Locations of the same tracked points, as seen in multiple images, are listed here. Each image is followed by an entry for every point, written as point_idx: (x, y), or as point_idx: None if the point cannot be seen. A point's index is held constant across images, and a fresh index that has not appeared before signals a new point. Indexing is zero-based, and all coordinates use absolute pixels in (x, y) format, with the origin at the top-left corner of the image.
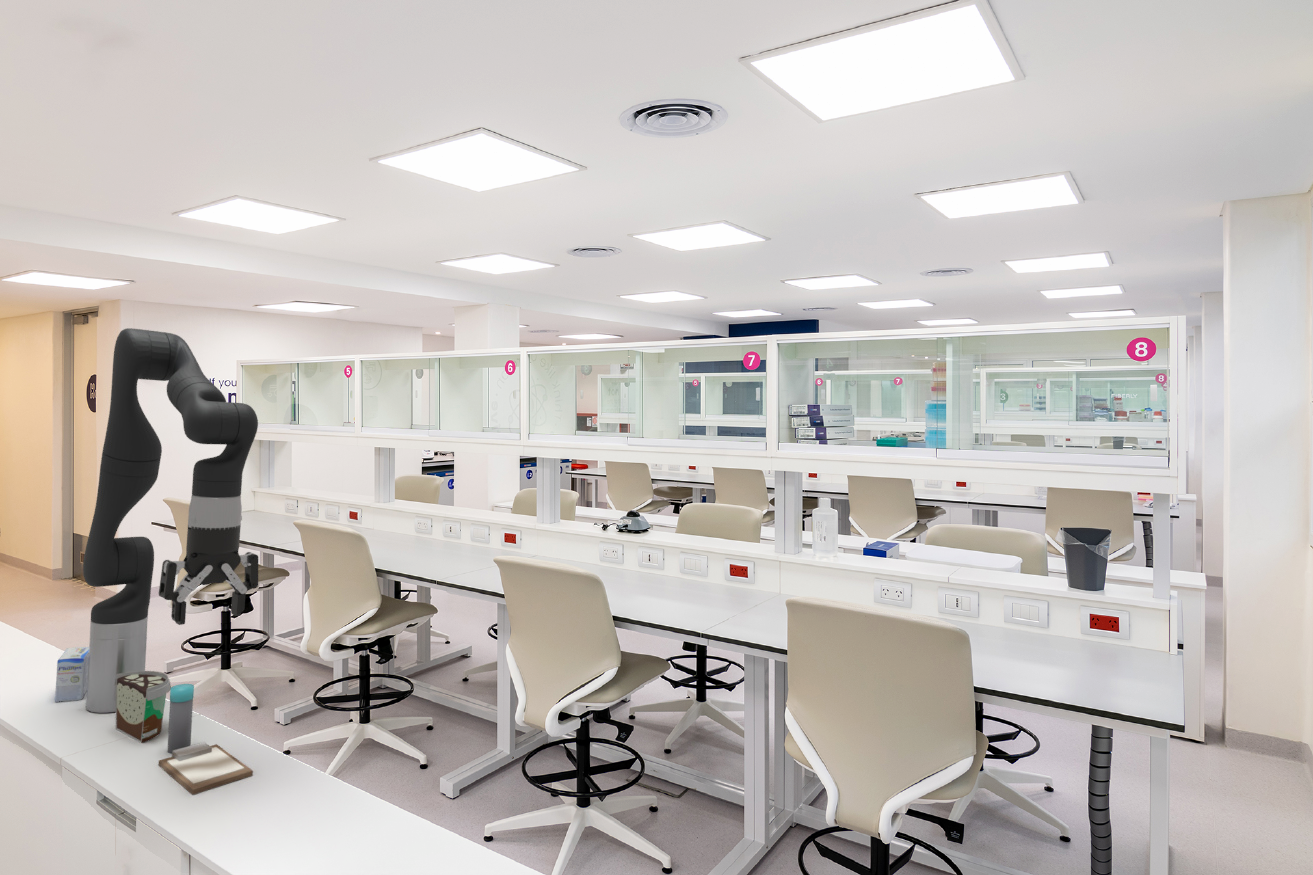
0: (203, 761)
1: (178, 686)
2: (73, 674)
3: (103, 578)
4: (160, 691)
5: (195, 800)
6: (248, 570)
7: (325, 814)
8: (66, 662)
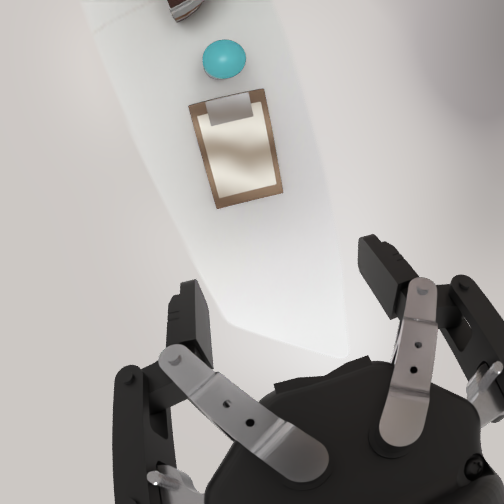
0: (238, 140)
1: (218, 50)
2: None
3: None
4: (195, 2)
5: (217, 220)
6: (472, 358)
7: (308, 291)
8: None
